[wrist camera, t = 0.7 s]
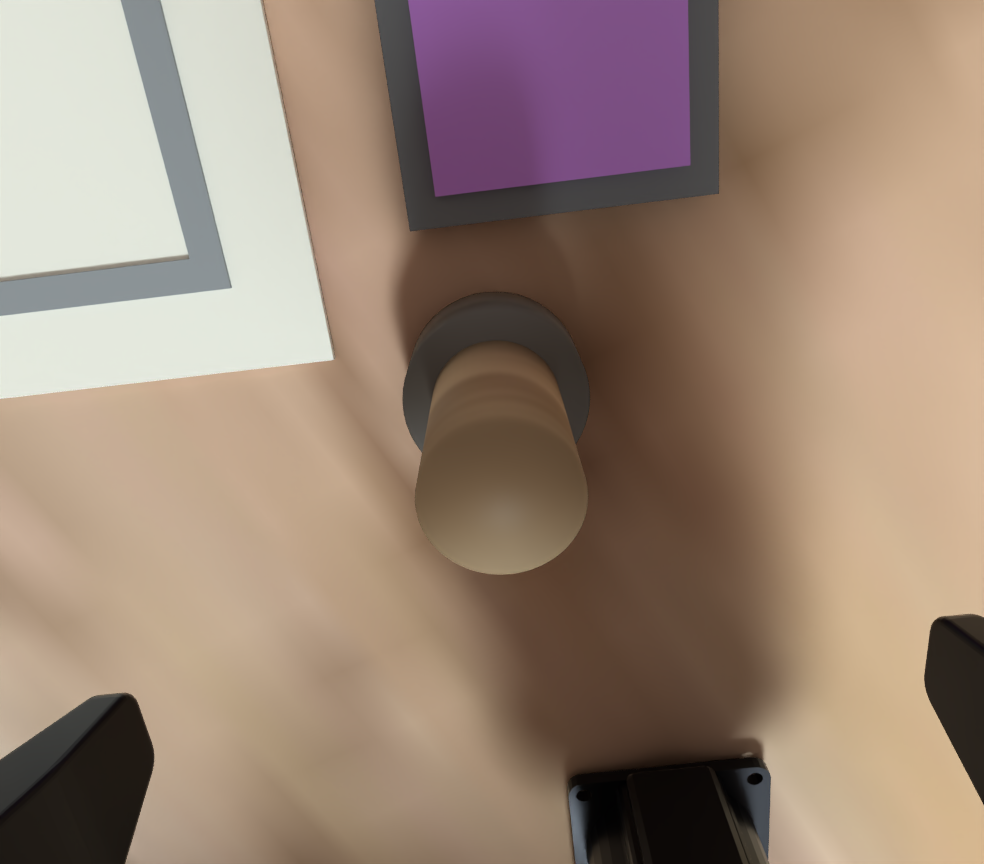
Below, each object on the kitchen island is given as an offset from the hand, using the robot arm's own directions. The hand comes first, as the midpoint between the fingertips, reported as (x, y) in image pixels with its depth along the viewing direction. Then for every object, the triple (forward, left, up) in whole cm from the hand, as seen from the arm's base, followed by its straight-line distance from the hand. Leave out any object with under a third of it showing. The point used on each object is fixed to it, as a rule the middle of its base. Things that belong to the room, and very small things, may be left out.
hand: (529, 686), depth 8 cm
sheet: (+7, +10, -12) cm, 17 cm away
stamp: (0, 0, -12) cm, 12 cm away
